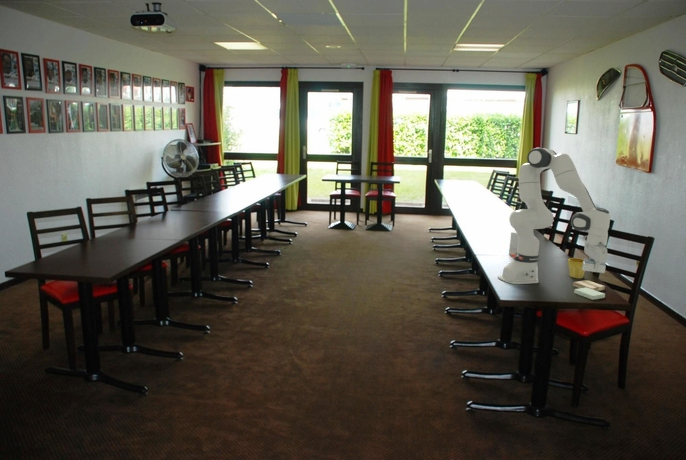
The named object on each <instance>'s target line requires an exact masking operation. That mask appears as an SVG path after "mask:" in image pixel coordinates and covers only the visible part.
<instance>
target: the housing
mask: <svg viewBox="0 0 686 460" xmlns="http://www.w3.org/2000/svg"><path fill="white" fill-rule="evenodd" d="M583 259H584V261H583V266H582V269H583V271H585V272H593V273H600V274H601V273H602V274H605V273H606V263H601V264H600V265H599V269H598V270H597V269H594V265H595V260H594V259H589V258H583Z"/></svg>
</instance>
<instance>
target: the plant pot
mask: <svg viewBox="0 0 686 460" xmlns="http://www.w3.org/2000/svg"><path fill="white" fill-rule="evenodd" d="M584 259H585V258H577V257H570V258H568V259H567V260H568V261H567V265H568V268H569V276H570V278H574V279H582V278H584V276H585V275H584V274H585V272H586V271H583V269H582V266H583V261H584Z"/></svg>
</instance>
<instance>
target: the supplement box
mask: <svg viewBox="0 0 686 460" xmlns="http://www.w3.org/2000/svg"><path fill="white" fill-rule="evenodd" d="M509 240H510V241H509V242H510V243H509V251H508V255H509V256H511V254H516V252H517V248H518V236H517V232H516V230H512V231H511V232H510V239H509Z"/></svg>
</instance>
